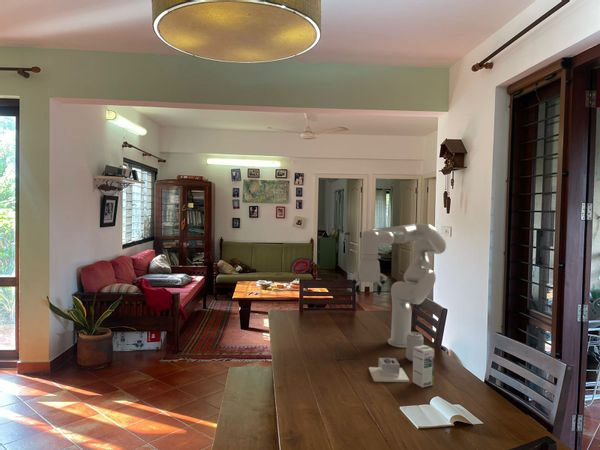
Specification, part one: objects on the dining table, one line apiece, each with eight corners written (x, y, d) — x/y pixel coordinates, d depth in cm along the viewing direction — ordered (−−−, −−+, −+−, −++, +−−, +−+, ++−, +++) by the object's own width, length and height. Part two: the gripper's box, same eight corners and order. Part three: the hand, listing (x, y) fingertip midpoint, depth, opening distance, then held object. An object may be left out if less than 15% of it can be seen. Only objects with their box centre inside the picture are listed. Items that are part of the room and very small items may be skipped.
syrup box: (422, 388, 159) (424, 350, 159) (411, 382, 165) (413, 346, 164) (433, 385, 162) (435, 348, 161) (422, 379, 167) (424, 344, 167)
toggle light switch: (401, 370, 176) (402, 354, 176) (409, 382, 164) (410, 364, 164) (368, 369, 176) (369, 353, 176) (374, 381, 164) (374, 364, 164)
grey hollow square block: (394, 369, 174) (395, 358, 174) (399, 376, 167) (399, 364, 167) (378, 369, 174) (378, 357, 173) (381, 376, 167) (382, 364, 166)
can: (423, 358, 191) (424, 332, 191) (421, 363, 184) (422, 337, 184) (407, 355, 194) (408, 330, 194) (404, 360, 188) (405, 334, 187)
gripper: (386, 257, 197) (384, 292, 198) (349, 256, 197) (348, 291, 197) (389, 259, 189) (388, 296, 190) (351, 258, 189) (350, 295, 190)
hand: (368, 293), depth 194 cm, fingers open, 9 cm apart
